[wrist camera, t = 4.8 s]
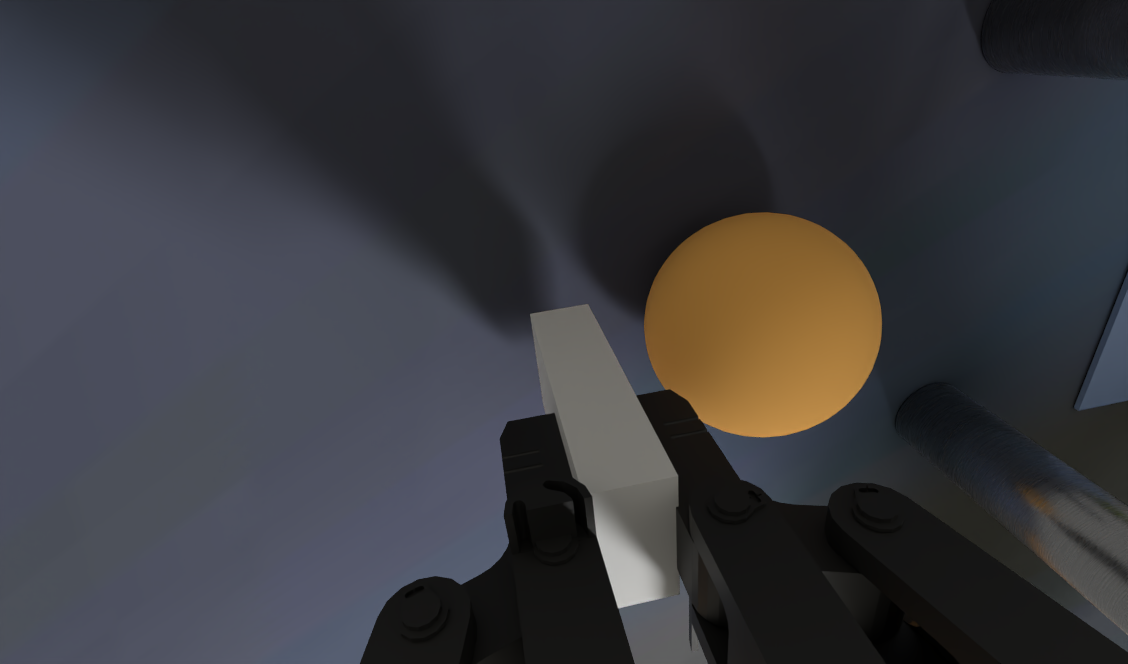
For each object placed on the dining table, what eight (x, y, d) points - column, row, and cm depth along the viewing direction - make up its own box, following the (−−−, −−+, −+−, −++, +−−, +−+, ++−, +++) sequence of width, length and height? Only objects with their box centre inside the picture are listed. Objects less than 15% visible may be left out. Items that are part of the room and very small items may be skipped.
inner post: (950, 433, 21) (1244, 663, 14) (889, 446, 21) (1153, 688, 13) (966, 377, 20) (1299, 593, 12) (901, 389, 20) (1200, 619, 12)
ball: (613, 411, 17) (750, 346, 19) (760, 523, 12) (918, 421, 14) (590, 227, 14) (752, 177, 16) (764, 283, 10) (954, 205, 12)
